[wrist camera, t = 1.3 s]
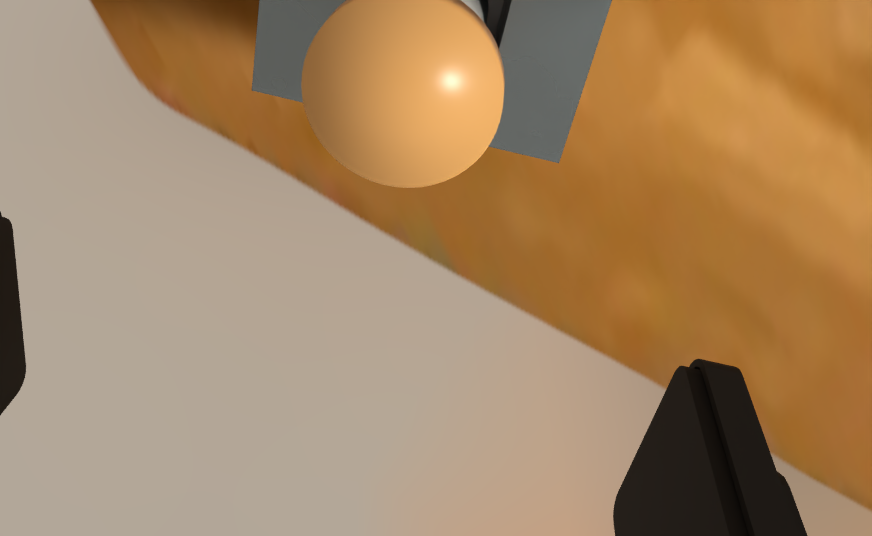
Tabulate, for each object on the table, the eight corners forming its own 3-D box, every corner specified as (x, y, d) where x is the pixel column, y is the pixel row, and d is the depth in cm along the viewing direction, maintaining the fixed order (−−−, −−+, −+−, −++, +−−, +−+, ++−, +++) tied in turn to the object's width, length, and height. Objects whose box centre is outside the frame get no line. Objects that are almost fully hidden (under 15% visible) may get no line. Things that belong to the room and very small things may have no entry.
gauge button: (373, -91, 25) (314, -31, 19) (529, -53, 25) (527, 21, 19) (349, 62, 28) (291, 162, 21) (490, 96, 28) (476, 206, 21)
